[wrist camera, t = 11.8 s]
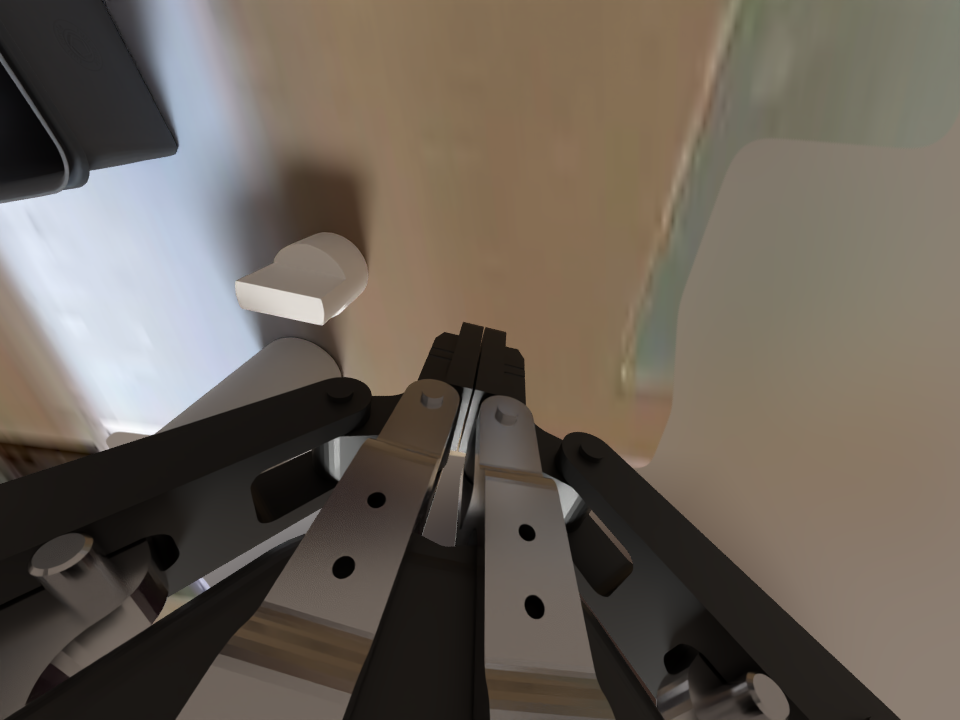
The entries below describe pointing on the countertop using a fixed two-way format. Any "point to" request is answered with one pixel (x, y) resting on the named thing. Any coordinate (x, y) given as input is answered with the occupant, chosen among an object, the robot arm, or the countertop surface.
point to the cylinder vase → (263, 379)
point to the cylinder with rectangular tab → (307, 280)
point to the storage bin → (69, 98)
